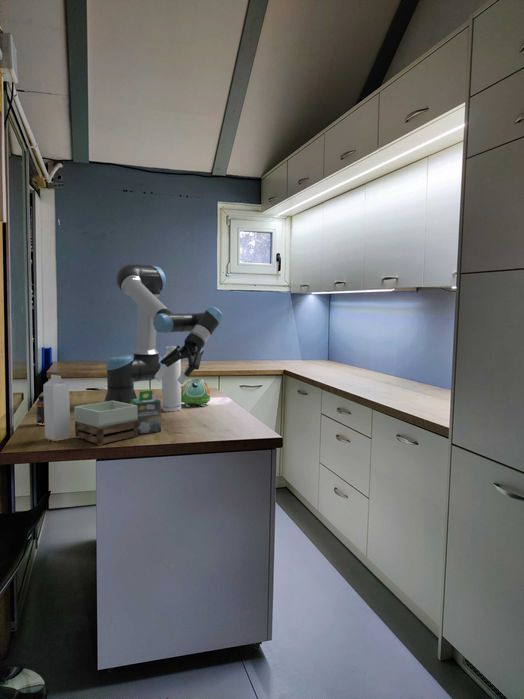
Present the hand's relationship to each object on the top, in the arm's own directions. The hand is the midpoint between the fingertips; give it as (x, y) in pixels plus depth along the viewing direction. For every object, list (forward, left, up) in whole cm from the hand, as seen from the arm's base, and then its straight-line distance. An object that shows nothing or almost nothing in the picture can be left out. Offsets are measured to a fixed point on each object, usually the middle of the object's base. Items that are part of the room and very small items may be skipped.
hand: (168, 380), depth 190 cm
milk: (-13, -37, -18) cm, 43 cm away
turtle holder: (-24, +34, -18) cm, 45 cm away
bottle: (-23, +21, -18) cm, 36 cm away
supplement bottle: (-38, -29, -18) cm, 51 cm away
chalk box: (0, -10, -18) cm, 20 cm away
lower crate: (-2, -25, -17) cm, 31 cm away
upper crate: (-2, -25, -11) cm, 28 cm away
